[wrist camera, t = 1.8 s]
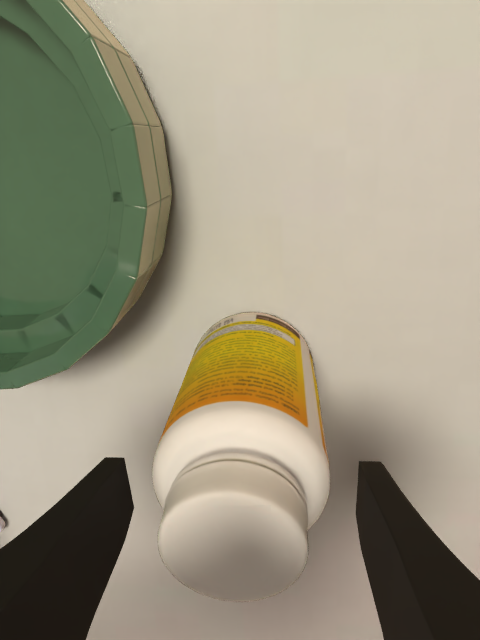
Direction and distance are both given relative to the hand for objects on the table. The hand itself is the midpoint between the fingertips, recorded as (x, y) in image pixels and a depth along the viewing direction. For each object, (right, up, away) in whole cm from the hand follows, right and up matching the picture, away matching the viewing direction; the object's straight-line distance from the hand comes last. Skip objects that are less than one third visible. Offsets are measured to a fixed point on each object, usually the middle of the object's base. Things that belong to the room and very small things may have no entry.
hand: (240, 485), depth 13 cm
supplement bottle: (+1, +3, +7) cm, 8 cm away
